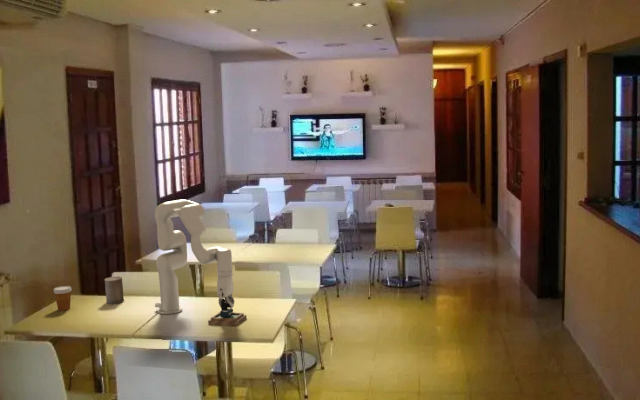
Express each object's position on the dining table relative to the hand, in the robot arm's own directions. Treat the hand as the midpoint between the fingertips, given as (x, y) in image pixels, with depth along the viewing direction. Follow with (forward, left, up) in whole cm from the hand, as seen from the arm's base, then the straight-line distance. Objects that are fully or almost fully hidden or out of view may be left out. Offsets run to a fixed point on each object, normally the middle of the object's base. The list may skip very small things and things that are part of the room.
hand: (226, 308), depth 370 cm
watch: (0, 0, -4) cm, 4 cm away
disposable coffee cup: (-101, +5, -7) cm, 101 cm away
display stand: (0, 0, -7) cm, 7 cm away
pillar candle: (-81, +24, -7) cm, 85 cm away
